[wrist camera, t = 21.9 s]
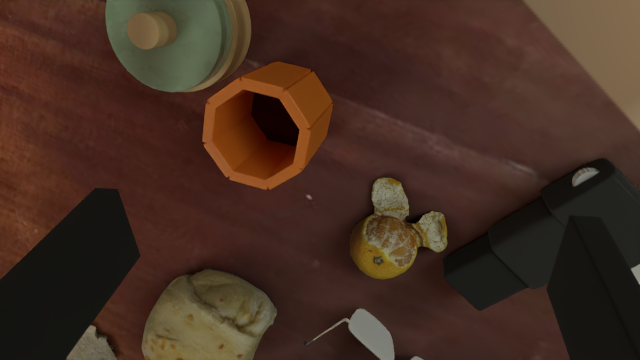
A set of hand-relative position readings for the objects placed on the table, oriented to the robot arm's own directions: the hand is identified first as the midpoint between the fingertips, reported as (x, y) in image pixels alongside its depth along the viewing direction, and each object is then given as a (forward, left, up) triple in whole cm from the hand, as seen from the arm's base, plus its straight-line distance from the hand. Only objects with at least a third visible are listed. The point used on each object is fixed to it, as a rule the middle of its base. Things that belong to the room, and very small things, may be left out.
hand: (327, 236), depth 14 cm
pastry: (+11, +28, -25) cm, 39 cm away
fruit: (-4, +12, -25) cm, 28 cm away
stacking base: (+17, -1, -25) cm, 30 cm away
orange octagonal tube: (+8, +4, -25) cm, 26 cm away
